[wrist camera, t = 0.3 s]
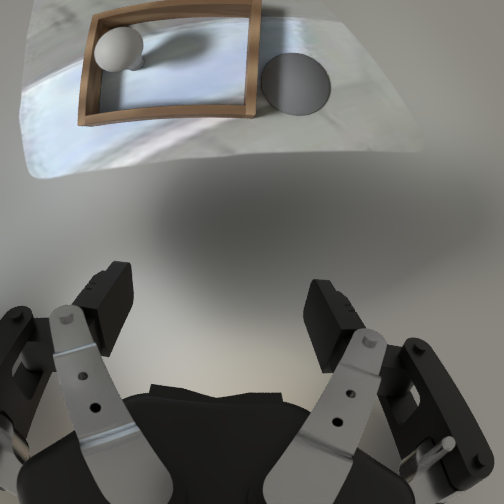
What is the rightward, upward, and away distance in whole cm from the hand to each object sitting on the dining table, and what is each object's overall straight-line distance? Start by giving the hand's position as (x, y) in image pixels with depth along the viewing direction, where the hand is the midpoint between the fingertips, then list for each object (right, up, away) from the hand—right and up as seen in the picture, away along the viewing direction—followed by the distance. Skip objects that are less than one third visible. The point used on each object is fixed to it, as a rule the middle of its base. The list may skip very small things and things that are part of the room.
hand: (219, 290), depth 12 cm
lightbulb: (-15, +29, +18) cm, 37 cm away
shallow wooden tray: (-10, +29, +18) cm, 35 cm away
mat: (+8, +26, +21) cm, 34 cm away
